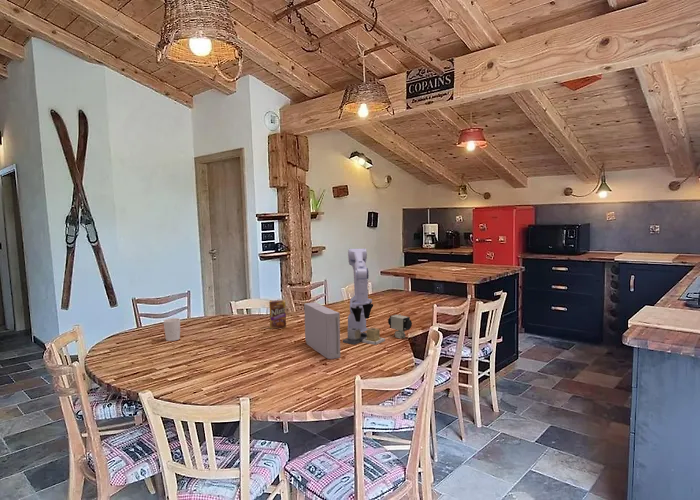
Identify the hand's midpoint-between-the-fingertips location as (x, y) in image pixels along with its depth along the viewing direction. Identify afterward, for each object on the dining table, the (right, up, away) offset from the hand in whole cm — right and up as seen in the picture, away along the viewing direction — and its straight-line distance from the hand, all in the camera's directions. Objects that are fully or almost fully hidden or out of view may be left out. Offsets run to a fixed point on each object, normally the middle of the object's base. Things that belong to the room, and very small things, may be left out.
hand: (362, 319), depth 224 cm
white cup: (-97, -11, +9) cm, 98 cm away
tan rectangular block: (+5, -10, -3) cm, 12 cm away
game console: (-19, -12, -15) cm, 27 cm away
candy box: (-46, -9, +28) cm, 54 cm away
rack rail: (-2, -10, +1) cm, 10 cm away
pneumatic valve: (+19, -10, +4) cm, 22 cm away
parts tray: (+5, -10, -3) cm, 12 cm away
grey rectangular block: (-4, -10, -2) cm, 11 cm away
